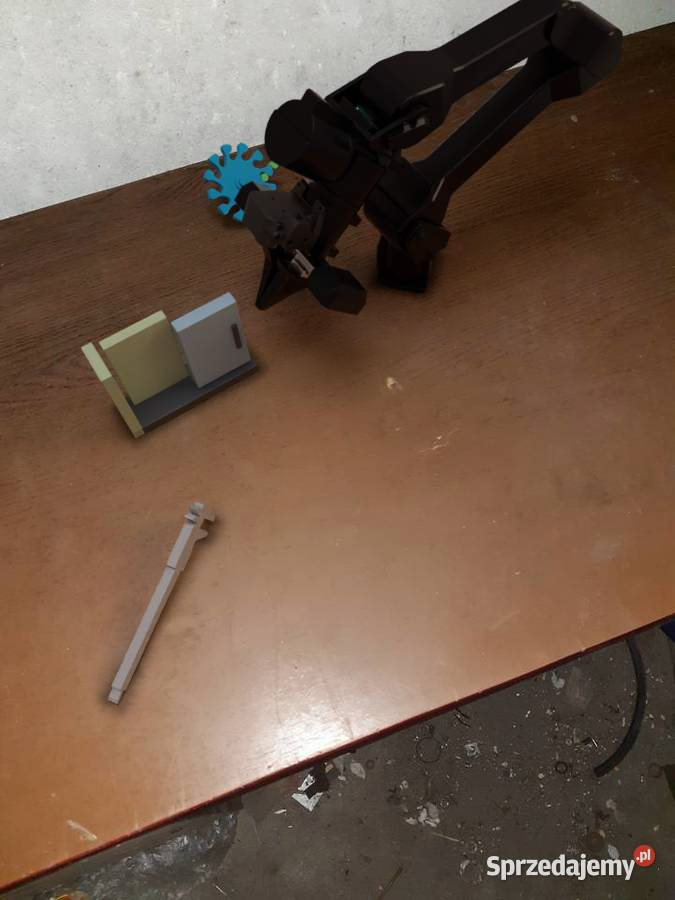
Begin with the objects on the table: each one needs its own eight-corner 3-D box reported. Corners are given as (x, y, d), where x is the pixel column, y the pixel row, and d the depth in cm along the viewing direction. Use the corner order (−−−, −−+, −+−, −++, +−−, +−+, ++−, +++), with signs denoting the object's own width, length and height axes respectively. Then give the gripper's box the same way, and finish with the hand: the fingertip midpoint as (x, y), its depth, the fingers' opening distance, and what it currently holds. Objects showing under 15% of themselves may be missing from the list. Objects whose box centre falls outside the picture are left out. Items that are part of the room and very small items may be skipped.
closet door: (244, 351, 82) (229, 291, 73) (252, 362, 82) (238, 303, 72) (192, 379, 81) (170, 322, 71) (200, 390, 80) (178, 334, 70)
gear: (227, 231, 91) (193, 155, 87) (212, 238, 96) (180, 166, 92) (295, 202, 95) (266, 128, 92) (277, 210, 100) (249, 140, 97)
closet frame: (238, 342, 85) (220, 274, 74) (259, 370, 83) (244, 304, 72) (117, 407, 81) (79, 346, 70) (135, 438, 79) (100, 380, 68)
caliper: (207, 515, 74) (194, 492, 69) (216, 518, 74) (204, 495, 69) (109, 700, 66) (86, 691, 60) (119, 705, 66) (96, 696, 60)
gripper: (236, 112, 68) (164, 242, 75) (341, 228, 61) (250, 359, 68) (308, 148, 77) (237, 261, 84) (408, 253, 69) (321, 367, 77)
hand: (259, 308), depth 78 cm, fingers closed
